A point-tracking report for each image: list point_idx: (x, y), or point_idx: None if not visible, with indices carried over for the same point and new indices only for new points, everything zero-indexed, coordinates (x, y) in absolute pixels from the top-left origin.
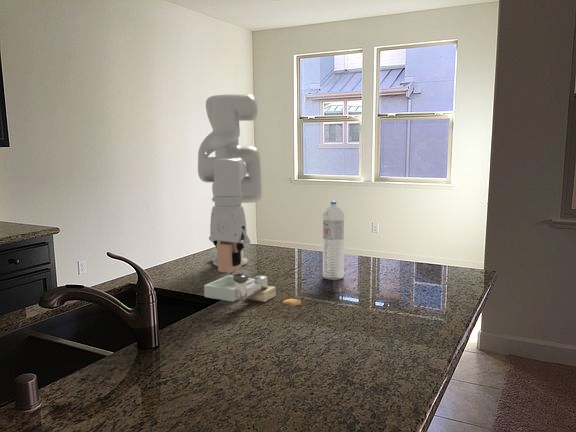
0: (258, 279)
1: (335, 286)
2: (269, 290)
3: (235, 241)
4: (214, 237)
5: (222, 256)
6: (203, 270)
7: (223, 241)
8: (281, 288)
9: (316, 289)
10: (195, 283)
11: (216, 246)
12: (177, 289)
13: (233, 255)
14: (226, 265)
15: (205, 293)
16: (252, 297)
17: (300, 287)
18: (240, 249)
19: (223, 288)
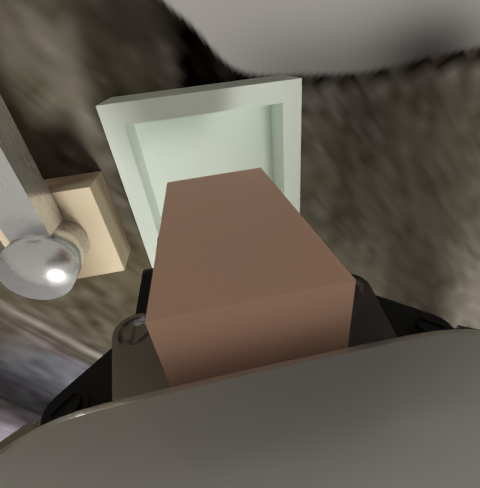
0: (14, 245)
1: (8, 408)
2: (3, 242)
3: (9, 445)
4: (476, 371)
5: (235, 220)
6: (451, 292)
7: (273, 366)
8: (113, 321)
9: (20, 370)
10: (416, 189)
11: (389, 305)
12: (455, 85)
13: None
14: (191, 196)
15: (280, 76)
16: (67, 180)
17: (75, 355)
18: (101, 368)
19: (162, 97)
